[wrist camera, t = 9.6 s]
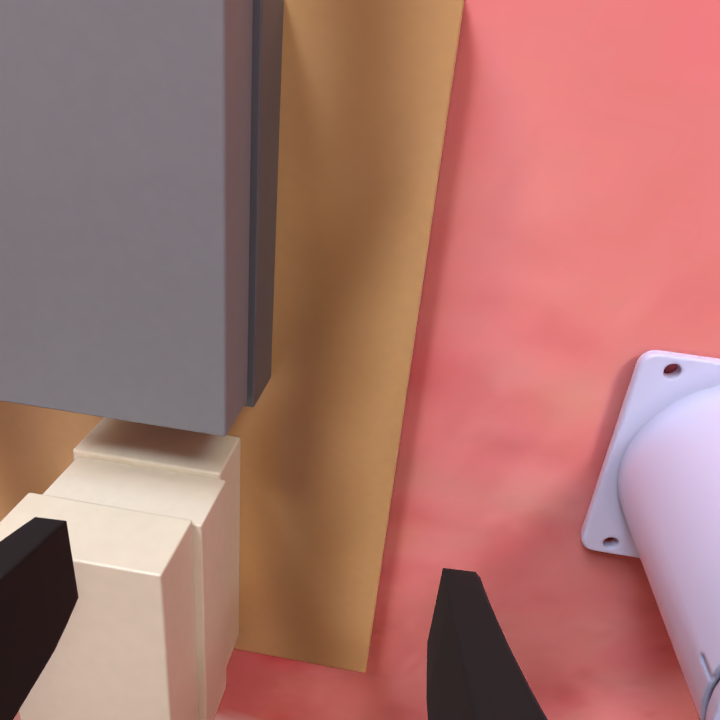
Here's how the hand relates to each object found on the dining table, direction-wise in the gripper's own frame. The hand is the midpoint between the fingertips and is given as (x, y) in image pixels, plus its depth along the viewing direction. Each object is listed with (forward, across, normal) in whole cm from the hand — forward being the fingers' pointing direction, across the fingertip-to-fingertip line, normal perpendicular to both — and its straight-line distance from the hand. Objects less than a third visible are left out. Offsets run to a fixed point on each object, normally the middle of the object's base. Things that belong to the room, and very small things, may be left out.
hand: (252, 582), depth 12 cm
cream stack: (+10, +5, +8) cm, 14 cm away
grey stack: (+10, +5, -5) cm, 12 cm away
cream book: (+5, +5, +8) cm, 11 cm away
